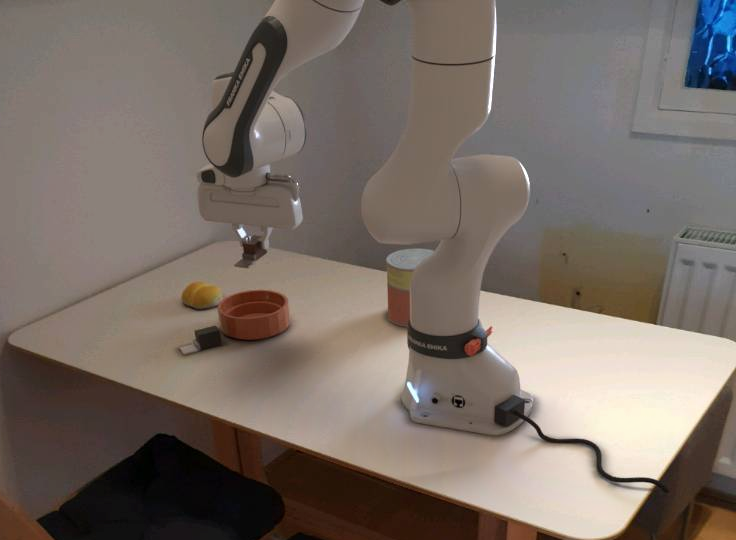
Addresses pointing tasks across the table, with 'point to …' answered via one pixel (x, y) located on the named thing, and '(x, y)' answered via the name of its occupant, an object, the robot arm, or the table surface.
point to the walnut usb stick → (250, 253)
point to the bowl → (254, 314)
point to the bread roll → (202, 295)
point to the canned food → (402, 281)
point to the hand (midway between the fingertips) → (254, 247)
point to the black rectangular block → (203, 340)
